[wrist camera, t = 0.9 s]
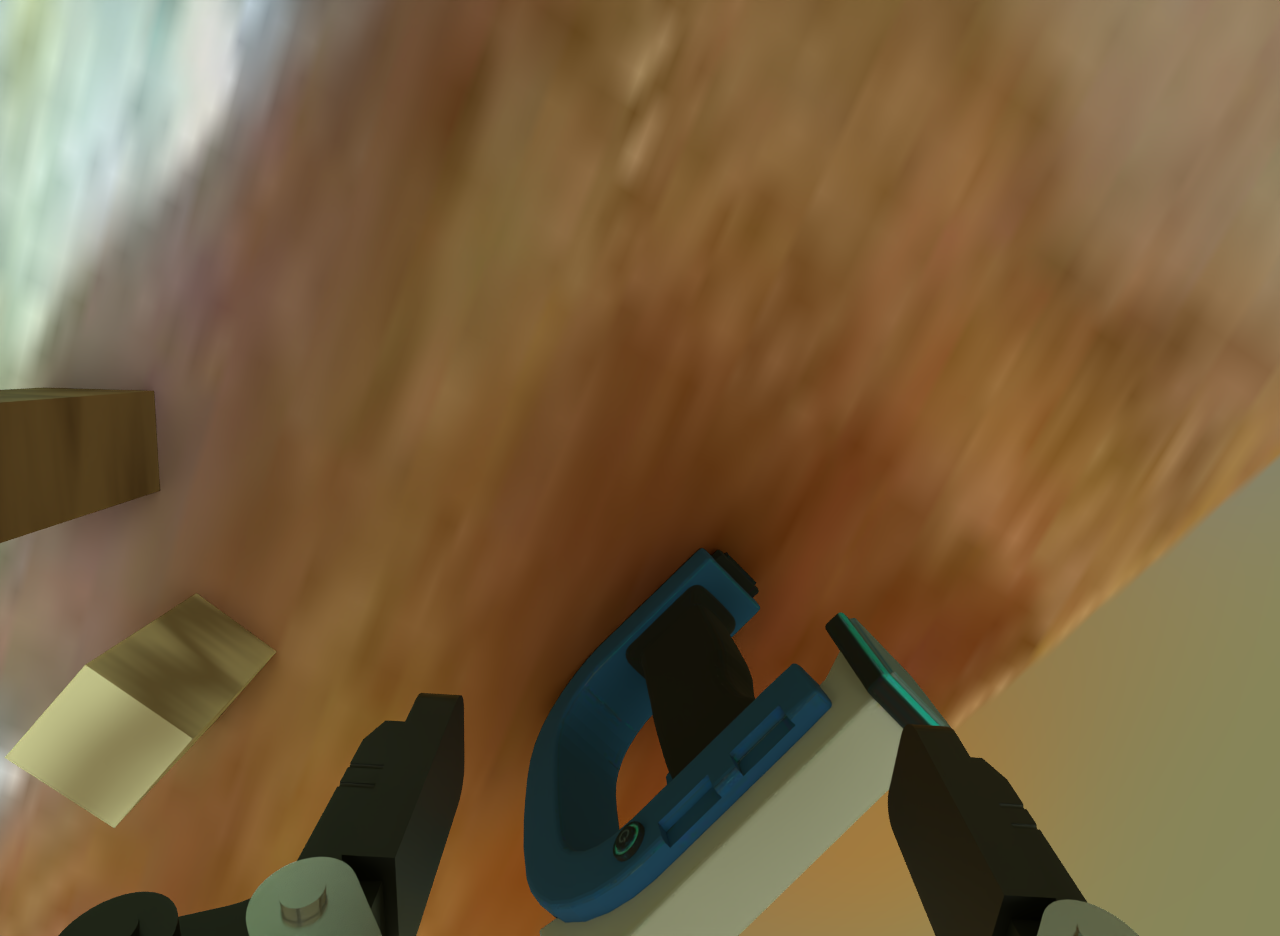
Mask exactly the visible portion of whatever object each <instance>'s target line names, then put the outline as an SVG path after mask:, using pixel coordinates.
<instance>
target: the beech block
mask: <svg viewBox="0 0 1280 936" xmlns="http://www.w3.org/2000/svg"><path fill="white" fill-rule="evenodd" d="M275 653H276V651H275V650H274V649H272V648H271V647H270V646H268V645H267V644H265V643H264V642H263V641H261V640H260V639H259V638H257V637H256V636H254V635H253V634H252V633H250V632H249V631H248V630H246V629H245V628H243V627H242V626H241V625H239V624H238V623H237V622H235V621H234V620H232V619H231V618H230V617H228V616H227V615H226V614H224V613H223V612H221V611H220V610H219V609H217V608H216V607H215V606H213V605H212V604H210V603H209V602H208V601H206V600H205V599H204V598H202V597H201V596H199V595H198V594H197V593H196V594H195V595H193V596H192V597H190V598H188V599H187V600H185V601H184V602H182V603H181V604H179V605H178V606H176V607H174V608H173V609H171V610H170V611H168V612H167V613H165V614H164V615H162V616H160V617H159V618H157V619H156V620H154V621H153V622H151V623H150V624H148V625H147V626H145V627H143V628H142V629H140V630H139V631H137V632H136V633H134V634H133V635H131V636H129V637H128V638H126V639H125V640H123V641H122V642H120V643H119V644H117V645H115V646H114V647H112V648H111V649H109V650H108V651H106V652H105V653H103V654H102V655H100V656H98V657H97V658H95V659H94V660H92V661H91V662H89V663H88V664H86V665H85V666H84V667H83V668H82V669H81V671H80V672H79V673H78V674H77V675H76V676H75V677H74V679H73V680H72V681H71V682H70V683H69V684H68V685H67V687H66V688H65V689H64V690H63V691H62V692H61V694H60V695H59V696H58V697H57V698H56V699H55V700H54V702H53V703H52V704H51V705H50V706H49V707H48V709H47V710H46V711H45V712H44V713H43V714H42V715H41V717H40V718H39V719H38V720H37V721H36V722H35V723H34V725H33V726H32V727H31V728H30V729H29V730H28V732H27V733H26V734H25V735H24V736H23V737H22V738H21V740H20V741H19V742H18V743H17V744H16V745H15V747H14V748H13V749H12V750H11V751H10V752H9V753H8V755H7V756H6V757H5V758H6V759H8V760H9V761H11V762H12V763H14V764H15V765H17V766H19V767H20V768H22V769H23V770H25V771H26V772H28V773H29V774H31V775H33V776H34V777H36V778H37V779H39V780H40V781H42V782H43V783H45V784H46V785H48V786H50V787H51V788H53V789H54V790H56V791H57V792H59V793H60V794H62V795H64V796H65V797H67V798H68V799H70V800H71V801H73V802H74V803H76V804H78V805H79V806H81V807H82V808H84V809H85V810H87V811H88V812H90V813H91V814H93V815H95V816H96V817H98V818H99V819H101V820H102V821H104V822H105V823H107V824H109V825H110V826H112V827H113V828H115V827H116V826H117V825H118V824H119V823H120V822H121V820H122V819H123V818H124V817H125V816H126V815H127V814H128V813H129V812H130V811H131V810H132V809H133V808H134V807H135V806H136V805H137V804H138V803H139V801H140V800H141V799H142V798H143V797H144V796H145V795H146V794H147V793H148V792H149V791H150V790H151V789H152V788H153V787H154V786H155V785H156V784H157V782H158V781H159V780H160V779H161V778H162V777H163V776H164V775H165V774H166V773H167V772H168V771H169V770H170V769H171V768H172V767H173V766H174V765H175V763H176V762H177V761H178V760H179V759H180V758H181V757H182V756H183V755H184V754H185V753H186V752H187V751H188V750H189V749H190V748H191V747H192V746H193V744H194V743H195V742H196V741H197V740H198V739H199V738H200V737H201V736H202V735H203V734H204V733H205V732H206V731H207V730H208V729H209V728H210V727H211V725H212V724H213V723H214V722H215V721H216V720H217V719H218V718H219V717H220V716H221V714H222V713H223V712H224V711H225V710H226V709H227V708H228V706H229V705H230V704H231V703H232V702H233V701H234V700H235V699H236V697H237V696H238V695H239V694H240V693H241V692H242V691H243V689H244V688H245V687H246V686H247V685H248V684H249V683H250V681H251V680H252V679H253V678H254V677H255V676H256V675H257V673H258V672H259V671H260V670H261V669H262V668H263V667H264V666H265V664H266V663H267V662H268V661H269V660H270V659H271V658H272V656H273V655H274V654H275Z"/></svg>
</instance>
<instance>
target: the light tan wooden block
mask: <svg viewBox="0 0 1280 936" xmlns="http://www.w3.org/2000/svg"><path fill="white" fill-rule="evenodd" d="M157 491H160V484H159V467H158V450H157V434H156V417H155V400H154V391H138V390H104V389H70V388H29V389H10V390H0V543H2V542H5V541H8V540H11V539H14V538H17V537H20V536H23V535H26V534H29V533H32V532H35V531H38V530H41V529H44V528H47V527H50V526H54V525H57V524H60V523H63V522H66V521H69V520H72V519H75V518H78V517H81V516H84V515H87V514H90V513H93V512H96V511H99V510H102V509H105V508H108V507H112V506H115V505H118V504H121V503H124V502H127V501H130V500H133V499H136V498H139V497H142V496H145V495H148V494H151V493H154V492H157Z"/></svg>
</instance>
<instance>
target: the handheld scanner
mask: <svg viewBox="0 0 1280 936" xmlns="http://www.w3.org/2000/svg"><path fill="white" fill-rule="evenodd" d="M755 584H756V582H755V581H754V580H753V579H752V578H751V577H750V576H749V575H748V574H747V573H746V572H745V571H744V570H743V569H742V568H741V567H740V566H739V565H738V564H737V563H736V562H735V561H734V560H733V559H732V558H731V557H730V556H729V555H728V553H727V552H726V553H725V554H724V553H723V552H722V551H720V550H717V551H716V552H715V553H714V554H713V555H712V556H711V555H710V554H709V553H708V552H707V551H706V550H705V549H703V548H701V549H699V550H698V551H697V552H696V553H695V554H694V555H693V556H692V557H691V558H690V559H689V560H688V561H687V562H686V563H685V564H684V565H683V566H682V567H681V568H679V569H678V570H677V571H676V572H675V573H674V574H673V575H672V576H671V577H670V578H669V579H668V580H667V581H666V582H665V583H664V584H663V585H662V586H661V587H660V588H659V589H658V590H657V591H656V592H655V593H654V594H653V595H652V596H651V597H650V598H649V599H648V600H646V601H645V602H644V603H643V604H642V605H641V606H640V607H639V608H638V609H637V610H636V611H635V612H634V613H633V614H632V615H631V616H630V617H629V618H628V619H627V620H626V621H625V622H624V623H623V624H622V625H621V626H620V627H619V628H618V629H617V630H616V631H615V632H613V633H612V634H611V635H610V636H609V637H608V638H607V639H606V640H605V641H604V642H603V643H602V644H601V645H600V646H599V647H598V648H597V649H596V650H595V651H594V652H593V654H592V655H591V656H590V657H589V658H588V659H587V660H586V662H585V663H584V664H583V665H582V666H581V668H580V669H579V670H578V671H577V673H576V674H575V675H574V677H573V678H572V679H571V681H570V682H569V683H568V685H567V686H566V688H565V689H564V690H563V692H562V693H561V695H560V696H559V698H558V700H557V701H556V703H555V704H554V706H553V707H552V709H551V711H550V713H549V715H548V717H547V719H546V720H545V722H544V724H543V726H542V728H541V731H540V733H539V736H538V738H537V740H536V743H535V746H534V750H533V753H532V757H531V760H530V766H529V772H528V778H527V788H526V799H525V813H524V856H525V866H526V876H527V881H528V884H529V887H530V890H531V892H532V894H533V895H534V897H535V898H536V899H537V901H538V902H539V904H540V905H541V906H542V907H544V908H545V909H546V910H547V911H548V912H550V913H551V914H552V915H553V916H554V917H556V919H555V920H554V921H552V922H551V923H549V924H548V925H546V926H545V927H544V928H542V929H541V930H540V936H739V934H740V933H742V932H743V931H744V930H745V929H746V928H747V927H748V926H749V925H750V924H751V923H752V922H753V921H754V920H755V919H756V918H757V917H758V916H759V915H760V914H761V913H762V912H763V911H764V910H765V909H766V908H767V907H768V906H769V905H770V904H771V903H772V902H773V901H774V900H776V898H778V897H779V896H780V895H781V893H783V891H785V890H786V889H787V888H788V887H789V886H790V885H791V884H792V883H793V882H794V881H795V880H796V879H797V878H798V877H799V876H800V875H801V874H802V873H803V872H804V871H805V870H806V869H807V868H808V867H809V866H810V865H811V864H813V863H814V862H815V861H816V860H817V858H819V857H820V856H821V855H822V854H823V853H824V852H825V851H826V850H827V849H828V848H829V847H830V846H831V845H832V844H833V843H834V842H835V841H836V840H837V839H838V838H839V837H840V836H841V835H842V834H843V833H844V832H845V831H846V830H847V829H848V828H850V827H851V826H852V825H853V824H854V823H855V821H857V820H858V819H859V818H860V817H861V816H862V815H863V814H864V813H865V812H866V811H867V810H868V809H869V808H870V807H871V806H872V805H873V804H874V803H875V802H876V801H877V800H878V799H879V798H880V797H881V796H882V795H883V794H884V793H885V792H887V791H888V790H889V787H890V783H891V778H892V774H893V769H894V765H895V760H896V756H897V751H898V747H899V742H900V738H901V734H902V731H903V728H904V727H905V726H906V725H907V724H916V725H932V726H948V727H950V726H949V725H948V723H947V722H946V721H945V719H944V718H943V717H942V715H941V714H940V713H939V712H938V710H937V709H936V708H935V706H934V705H933V704H932V703H931V701H930V700H929V699H928V697H927V696H926V695H925V693H924V692H923V691H922V690H921V688H920V687H919V686H918V684H917V683H916V682H915V681H914V679H913V678H912V677H911V676H910V675H909V674H908V673H907V671H906V670H905V669H904V668H903V667H902V666H901V665H900V664H899V663H898V662H897V661H896V660H895V659H894V658H893V657H892V656H891V655H890V654H889V653H888V652H887V651H886V650H885V649H884V648H883V647H882V645H881V644H880V643H879V642H878V641H877V640H876V639H875V638H874V637H873V636H872V635H871V634H870V633H869V632H868V631H867V630H866V629H865V628H864V627H863V626H862V625H861V624H860V623H859V622H858V621H857V619H855V618H852V619H849V618H848V617H847V616H846V615H845V614H843V613H838V614H837V615H836V616H835V617H834V618H832V619H831V620H830V621H829V622H828V623H827V624H826V626H825V627H826V630H827V632H828V633H829V635H830V636H831V638H832V639H833V641H834V642H835V644H836V645H837V647H838V648H839V650H840V652H839V654H838V656H837V658H836V660H835V662H834V664H833V666H832V668H831V670H830V672H829V674H828V676H827V678H826V680H825V681H824V682H823V683H822V684H821V685H819V684H817V683H816V682H815V681H814V680H813V679H812V678H811V677H810V676H809V675H808V674H807V673H806V672H805V671H804V670H803V669H802V668H801V667H800V666H799V665H797V664H792V665H791V666H790V667H789V668H788V669H787V670H785V671H784V672H783V673H782V674H781V675H780V676H779V677H778V678H777V679H776V680H775V681H774V682H773V683H772V684H770V685H769V686H768V687H767V688H766V689H765V690H764V691H763V692H762V693H761V694H760V695H759V696H758V697H757V698H756V699H755V697H754V692H753V680H752V677H751V674H750V672H749V669H748V666H747V664H746V662H745V660H744V659H743V657H742V655H741V653H740V651H739V650H738V648H737V646H736V644H735V643H734V641H733V639H732V638H731V637H732V636H733V635H734V634H736V633H737V632H738V631H739V630H740V629H741V628H742V627H743V626H744V625H745V624H746V623H747V622H748V621H749V620H750V619H751V618H752V617H753V616H754V615H755V614H756V613H757V612H758V611H759V610H760V606H759V605H758V603H757V602H756V601H755V600H754V599H753V597H754V596H755V595H756V594H757V593H758V592H759V591H758V588H757V587H756V586H755ZM652 715H653V718H654V723H655V727H656V731H657V735H658V738H659V742H660V745H661V749H662V752H663V755H664V758H665V762H666V765H667V768H668V770H669V773H668V774H667V776H666V780H667V785H666V786H665V787H664V788H663V789H662V790H661V791H660V792H659V793H658V794H657V795H656V796H655V797H654V798H653V799H652V800H651V801H650V802H649V803H648V804H647V805H646V806H645V807H644V808H643V809H642V810H641V811H640V812H639V813H638V814H637V815H636V816H635V817H634V818H633V819H632V820H630V821H629V822H628V823H627V824H626V825H625V826H623V827H622V828H621V829H620V830H619V823H618V815H617V805H616V782H617V777H618V772H619V769H620V766H621V763H622V760H623V758H624V756H625V754H626V752H627V750H628V748H629V746H630V744H631V743H632V741H633V739H634V738H635V736H636V735H637V733H638V732H639V731H640V729H641V728H642V727H643V725H644V724H645V723H646V721H647V720H648V719H649V718H650V717H651V716H652ZM950 728H951V727H950ZM958 738H959V737H958Z"/></svg>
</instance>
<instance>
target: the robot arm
mask: <svg viewBox="0 0 1280 936" xmlns="http://www.w3.org/2000/svg"><path fill="white" fill-rule="evenodd" d="M463 777H464V703H463V697H462V696H461V695H446V694H429V693H420V694H419V695H418V697H417V698H416V700H415V703H414V705H413V707H412V709H411V711H410V713H409V715H408V717H407V719H406V721H405V722H401V721H385V722H383V723H382V724H381V725H380V726H379V727H378V728H376V729H375V730H374V731H373V732H372V733H370V734H369V735H368V736H367V737H366V738H365V739H363V741H362V743H361V744H360V746H359V748H358V750H357V752H356V754H355V755H354V757H353V759H352V761H351V764H350V767H348V768H347V770H346V772H345V774H344V776H343V777H342V779H341V781H340V786H339V787H337V788H336V790H335V792H334V794H333V796H332V798H331V799H330V801H329V803H328V805H327V807H326V809H325V811H324V812H323V814H322V816H321V818H320V820H319V822H318V823H317V825H316V827H315V829H314V831H313V833H312V834H311V836H310V838H309V840H308V842H307V844H306V845H305V847H304V849H303V851H302V853H301V855H300V856H299V858H298V860H297V861H296V862H294V863H291V864H289V865H287V866H285V867H283V868H281V869H280V870H278V871H276V872H275V873H273V874H272V875H271V876H270V877H268V878H267V879H266V880H265V881H264V882H263V883H262V884H261V885H260V886H259V887H258V889H257V890H256V891H255V893H254V894H253V896H252V898H250V899H248V900H245V901H243V902H240V903H237V904H233V905H229V906H225V907H221V908H216V909H212V910H207V911H203V912H198V913H194V914H189V915H185V916H180V917H178V913H177V908H176V906H175V905H174V903H173V902H172V901H171V900H170V899H169V898H168V897H166V896H164V895H162V894H158V893H155V892H135V893H130V894H125V895H121V896H118V897H115V898H112V899H110V900H107V901H105V902H103V903H101V904H99V905H97V906H95V907H93V908H91V909H90V910H88V911H87V912H85V913H84V914H82V915H81V916H79V917H78V918H77V919H75V920H74V921H73V922H72V923H71V924H69V925H68V926H67V927H66V928H65V929H64V930H63V931H62V932H61V933H60V935H59V936H416V934H417V931H418V928H419V925H420V922H421V919H422V916H423V913H424V909H425V906H426V903H427V900H428V897H429V894H430V891H431V888H432V884H433V881H434V878H435V875H436V872H437V869H438V866H439V863H440V859H441V856H442V853H443V850H444V847H445V844H446V841H447V838H448V834H449V831H450V828H451V825H452V822H453V819H454V816H455V813H456V810H457V806H458V803H459V800H460V795H461V790H462V785H463ZM888 812H889V819H890V823H891V827H892V830H893V833H894V835H895V838H896V840H897V842H898V845H899V847H900V850H901V852H902V855H903V857H904V860H905V862H906V865H907V867H908V869H909V872H910V874H911V877H912V879H913V882H914V884H915V886H916V889H917V891H918V894H919V896H920V899H921V901H922V904H923V906H924V909H925V911H926V913H927V916H928V918H929V921H930V923H931V926H932V928H933V930H934V933H935V935H936V936H1139V935H1138V934H1137V933H1135V932H1134V931H1133V930H1132V929H1131V928H1130V927H1129V926H1128V925H1127V924H1125V923H1124V922H1123V921H1121V920H1120V919H1119V918H1117V917H1116V916H1114V915H1113V914H1111V913H1109V912H1107V911H1106V910H1104V909H1101V908H1099V907H1097V906H1095V905H1092V904H1089V903H1087V901H1086V900H1085V898H1084V897H1083V895H1082V894H1081V892H1080V891H1079V889H1078V888H1077V886H1076V884H1075V883H1074V881H1073V880H1072V878H1071V877H1070V875H1069V874H1068V872H1067V871H1066V869H1065V868H1064V866H1063V865H1062V863H1061V861H1060V860H1059V858H1058V857H1057V855H1056V854H1055V852H1054V851H1053V849H1052V848H1051V846H1050V845H1049V843H1048V841H1047V840H1046V838H1045V837H1044V836H1043V834H1042V832H1041V831H1040V830H1037V827H1036V823H1035V821H1034V820H1033V818H1032V817H1031V815H1030V814H1029V812H1028V811H1027V810H1026V809H1024V808H1023V803H1022V802H1021V800H1020V799H1019V797H1018V795H1017V794H1016V792H1015V791H1014V789H1013V788H1012V786H1011V785H1010V783H1009V782H1008V780H1007V779H1006V778H1005V777H1003V776H1002V775H1001V774H1000V773H999V772H998V771H996V770H995V769H994V768H993V767H992V766H991V765H990V764H988V763H987V762H986V761H985V760H983V759H982V758H973V757H970V756H969V754H968V753H967V751H966V749H965V748H964V746H963V744H962V743H961V741H960V739H959V738H958V736H957V734H956V733H955V731H954V730H953V729H952V728H950V727H948V726H932V725H916V724H907V725H906V726H905V727H904V728H903V731H902V734H901V738H900V742H899V747H898V751H897V756H896V760H895V765H894V769H893V774H892V778H891V783H890V787H889V794H888Z"/></svg>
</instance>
